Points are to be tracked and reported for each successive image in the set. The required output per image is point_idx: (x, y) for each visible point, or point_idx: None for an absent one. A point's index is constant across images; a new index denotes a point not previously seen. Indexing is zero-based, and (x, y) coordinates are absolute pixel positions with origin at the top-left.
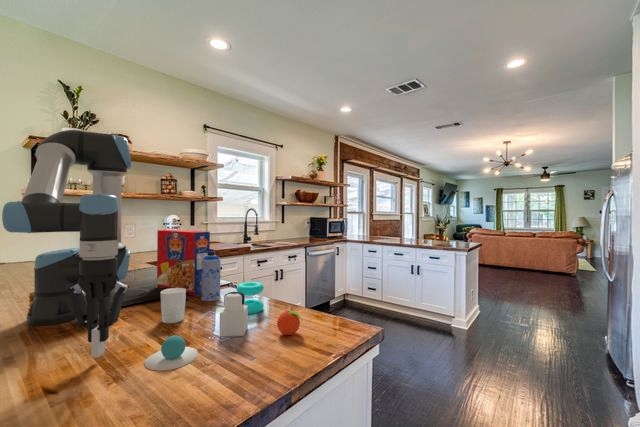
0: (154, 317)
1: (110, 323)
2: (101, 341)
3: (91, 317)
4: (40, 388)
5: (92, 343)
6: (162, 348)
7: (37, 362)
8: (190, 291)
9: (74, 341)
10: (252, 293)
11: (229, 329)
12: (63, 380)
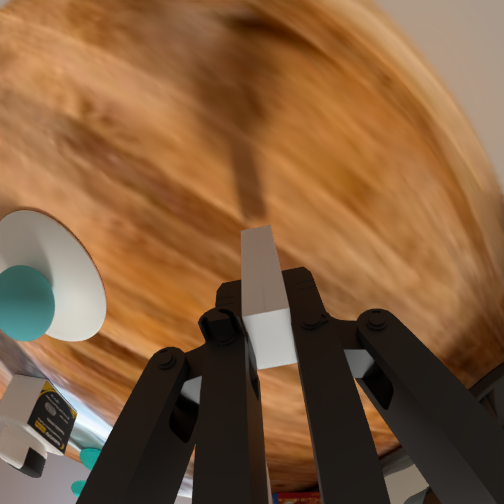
0: (296, 449)
1: (157, 361)
2: (238, 281)
3: (313, 389)
4: (321, 46)
5: (273, 258)
6: (20, 283)
7: (458, 222)
8: (288, 498)
9: (428, 339)
10: (78, 482)
11: (26, 389)
12: (283, 96)
